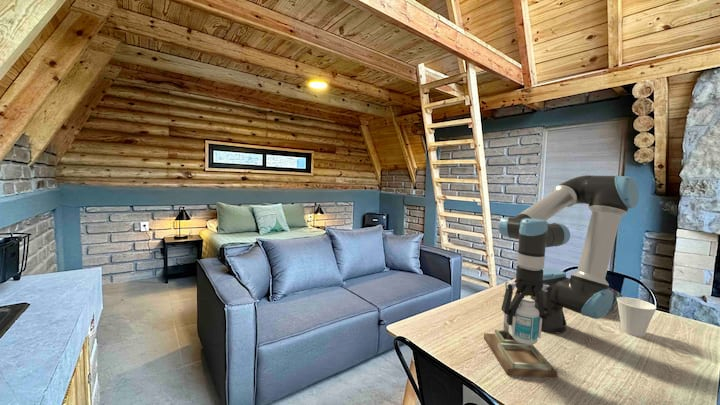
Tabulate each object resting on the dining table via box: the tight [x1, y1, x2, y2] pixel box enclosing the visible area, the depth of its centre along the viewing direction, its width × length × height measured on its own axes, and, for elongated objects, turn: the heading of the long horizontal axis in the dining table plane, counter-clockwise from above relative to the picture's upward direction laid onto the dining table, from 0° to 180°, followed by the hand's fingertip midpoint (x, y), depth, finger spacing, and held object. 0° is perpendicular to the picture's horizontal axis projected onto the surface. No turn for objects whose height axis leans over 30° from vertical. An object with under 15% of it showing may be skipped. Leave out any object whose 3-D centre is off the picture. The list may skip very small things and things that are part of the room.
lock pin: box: [502, 300, 515, 340], centre depth 109 cm, size 5×5×14 cm
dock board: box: [483, 329, 558, 379], centre depth 103 cm, size 15×21×4 cm
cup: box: [617, 296, 657, 337], centre depth 121 cm, size 12×12×12 cm
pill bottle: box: [512, 296, 539, 345], centre depth 98 cm, size 8×7×14 cm
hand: (524, 334), depth 98 cm, fingers closed on pill bottle, 7 cm apart
